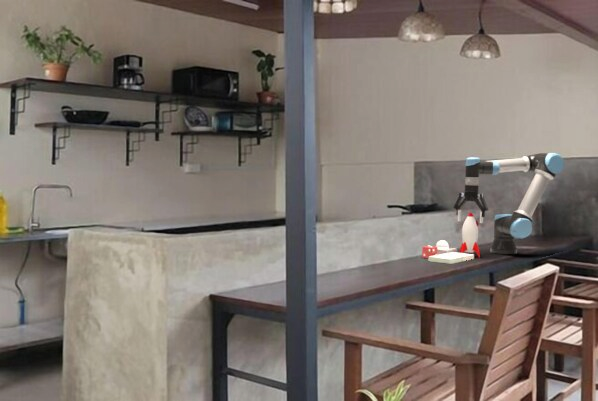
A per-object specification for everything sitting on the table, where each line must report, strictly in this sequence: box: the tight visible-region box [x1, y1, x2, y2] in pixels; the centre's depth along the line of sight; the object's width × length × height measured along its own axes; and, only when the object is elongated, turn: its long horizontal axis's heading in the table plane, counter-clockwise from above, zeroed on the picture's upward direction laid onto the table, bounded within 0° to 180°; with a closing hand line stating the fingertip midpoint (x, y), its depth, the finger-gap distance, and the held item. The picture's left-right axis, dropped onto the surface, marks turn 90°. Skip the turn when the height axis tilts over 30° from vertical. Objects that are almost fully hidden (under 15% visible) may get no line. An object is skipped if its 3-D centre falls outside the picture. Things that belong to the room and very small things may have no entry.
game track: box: [428, 252, 475, 265], centre depth 348 cm, size 27×13×2 cm, turn 138°
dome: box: [435, 239, 450, 250], centre depth 367 cm, size 7×7×8 cm
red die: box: [421, 245, 437, 259], centre depth 356 cm, size 7×7×7 cm
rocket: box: [459, 212, 481, 259], centre depth 364 cm, size 11×11×25 cm
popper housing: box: [437, 247, 458, 255], centre depth 367 cm, size 12×12×4 cm
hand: (470, 222), depth 363 cm, fingers open, 13 cm apart
